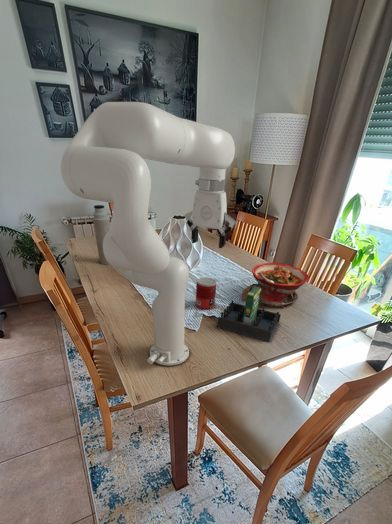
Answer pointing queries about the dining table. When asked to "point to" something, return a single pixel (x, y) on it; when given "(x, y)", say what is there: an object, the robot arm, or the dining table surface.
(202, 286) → the canned food
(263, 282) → the stew
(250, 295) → the coffee box
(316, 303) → the dining table surface
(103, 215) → the thermos bottle
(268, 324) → the rack
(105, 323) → the dining table surface
